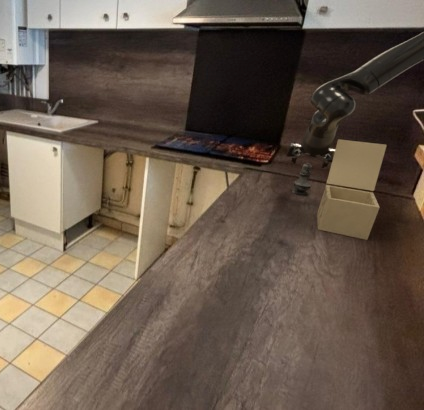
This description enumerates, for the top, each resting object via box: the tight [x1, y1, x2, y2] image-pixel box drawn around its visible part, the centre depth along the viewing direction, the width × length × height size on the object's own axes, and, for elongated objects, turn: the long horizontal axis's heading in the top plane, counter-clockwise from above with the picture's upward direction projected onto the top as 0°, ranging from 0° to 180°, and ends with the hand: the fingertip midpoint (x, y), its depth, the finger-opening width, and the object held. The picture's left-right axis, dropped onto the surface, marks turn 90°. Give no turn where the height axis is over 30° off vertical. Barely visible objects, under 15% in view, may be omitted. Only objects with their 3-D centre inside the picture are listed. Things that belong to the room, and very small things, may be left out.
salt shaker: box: [291, 160, 313, 196], centre depth 129 cm, size 6×6×12 cm
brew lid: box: [326, 138, 387, 192], centre depth 108 cm, size 14×12×4 cm
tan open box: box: [316, 184, 381, 241], centre depth 104 cm, size 13×12×10 cm
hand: (308, 163), depth 123 cm, fingers open, 8 cm apart
